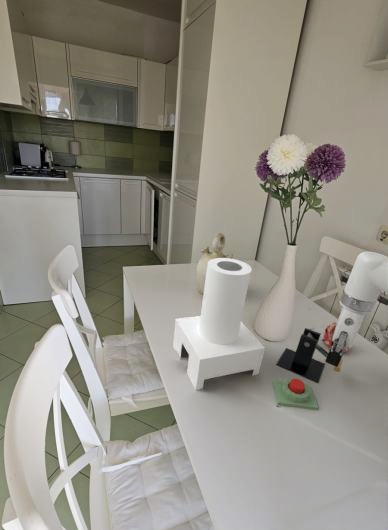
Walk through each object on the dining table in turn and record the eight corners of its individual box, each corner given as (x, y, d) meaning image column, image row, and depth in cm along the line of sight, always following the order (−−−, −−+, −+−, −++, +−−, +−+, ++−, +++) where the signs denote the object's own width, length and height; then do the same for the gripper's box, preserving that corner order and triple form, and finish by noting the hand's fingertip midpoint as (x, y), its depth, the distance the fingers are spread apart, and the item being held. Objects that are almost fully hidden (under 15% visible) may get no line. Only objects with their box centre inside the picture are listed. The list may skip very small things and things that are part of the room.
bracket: (323, 366, 92) (336, 334, 86) (316, 385, 84) (330, 351, 79) (285, 350, 97) (294, 319, 92) (275, 367, 89) (285, 334, 84)
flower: (309, 338, 102) (326, 329, 95) (323, 325, 107) (340, 316, 100) (328, 362, 100) (347, 355, 94) (342, 347, 105) (360, 340, 98)
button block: (307, 388, 83) (311, 379, 81) (316, 412, 76) (320, 402, 74) (271, 384, 83) (274, 374, 81) (276, 407, 76) (279, 397, 74)
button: (301, 384, 79) (303, 379, 78) (304, 394, 76) (306, 389, 75) (287, 382, 79) (289, 377, 79) (290, 393, 76) (292, 387, 75)
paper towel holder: (195, 390, 78) (210, 285, 64) (173, 346, 93) (181, 253, 79) (257, 376, 85) (283, 279, 71) (227, 337, 100) (243, 251, 86)
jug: (187, 287, 130) (192, 230, 118) (212, 280, 140) (220, 226, 128) (212, 302, 120) (221, 242, 109) (237, 293, 130) (248, 236, 118)
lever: (338, 364, 87) (344, 359, 85) (335, 373, 83) (342, 369, 81) (304, 334, 89) (310, 330, 87) (300, 342, 85) (306, 337, 84)
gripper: (371, 321, 68) (344, 378, 76) (375, 294, 81) (352, 345, 89) (336, 309, 71) (313, 365, 79) (346, 285, 84) (326, 335, 92)
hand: (334, 354), depth 84 cm, fingers open, 9 cm apart
